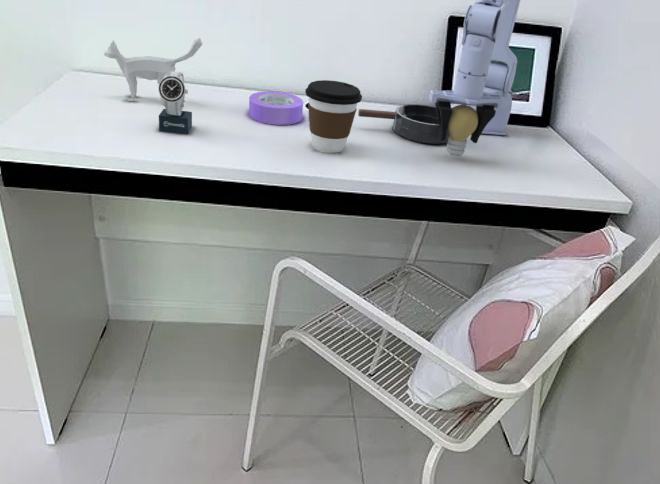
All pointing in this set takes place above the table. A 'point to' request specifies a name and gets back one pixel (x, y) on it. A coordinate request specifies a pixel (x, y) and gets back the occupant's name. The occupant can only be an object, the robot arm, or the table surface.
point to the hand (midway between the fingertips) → (457, 140)
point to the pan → (418, 123)
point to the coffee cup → (331, 113)
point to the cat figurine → (146, 65)
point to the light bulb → (460, 128)
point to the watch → (174, 104)
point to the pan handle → (376, 114)
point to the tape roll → (275, 108)
